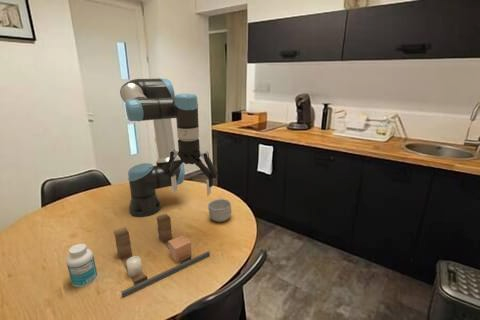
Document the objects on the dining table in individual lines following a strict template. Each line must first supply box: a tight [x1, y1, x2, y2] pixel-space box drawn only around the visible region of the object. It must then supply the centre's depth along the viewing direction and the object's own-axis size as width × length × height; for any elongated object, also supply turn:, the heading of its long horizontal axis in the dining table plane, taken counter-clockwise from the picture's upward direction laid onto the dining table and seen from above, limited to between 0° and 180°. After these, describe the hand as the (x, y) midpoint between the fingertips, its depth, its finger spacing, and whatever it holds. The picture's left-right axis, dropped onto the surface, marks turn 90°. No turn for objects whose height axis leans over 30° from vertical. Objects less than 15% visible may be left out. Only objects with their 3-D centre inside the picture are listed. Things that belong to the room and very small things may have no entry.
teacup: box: [207, 197, 232, 223], centre depth 126 cm, size 14×11×8 cm
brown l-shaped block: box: [156, 213, 192, 265], centre depth 100 cm, size 20×4×12 cm, turn 38°
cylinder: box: [126, 255, 143, 278], centre depth 88 cm, size 4×4×5 cm
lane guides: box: [120, 250, 211, 298], centre depth 97 cm, size 24×31×3 cm
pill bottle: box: [65, 243, 98, 288], centre depth 85 cm, size 8×7×14 cm
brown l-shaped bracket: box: [113, 226, 148, 286], centre depth 91 cm, size 20×4×12 cm, turn 38°
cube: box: [168, 234, 193, 264], centre depth 97 cm, size 6×6×6 cm
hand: (191, 192), depth 100 cm, fingers open, 13 cm apart
